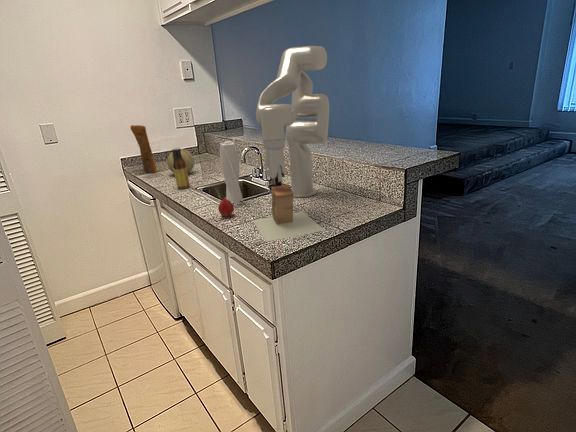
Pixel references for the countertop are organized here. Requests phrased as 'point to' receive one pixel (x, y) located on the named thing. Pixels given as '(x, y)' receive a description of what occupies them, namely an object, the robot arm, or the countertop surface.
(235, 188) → the skyscraper
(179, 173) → the sauce bottle
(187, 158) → the cantaloupe
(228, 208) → the onion
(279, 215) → the copper block
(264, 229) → the mat
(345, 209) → the countertop surface
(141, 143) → the brown tall curved piece
